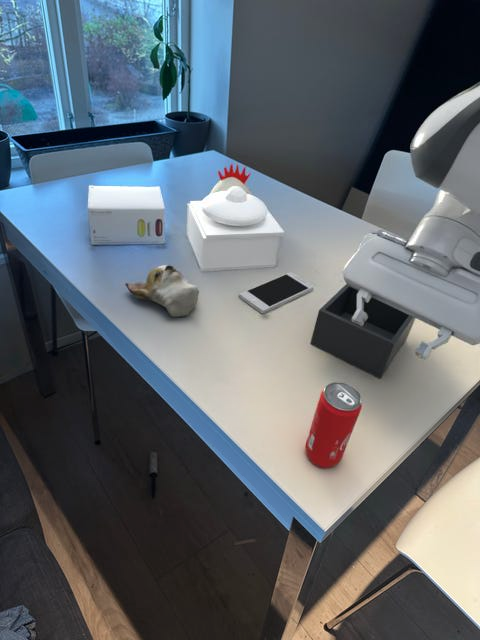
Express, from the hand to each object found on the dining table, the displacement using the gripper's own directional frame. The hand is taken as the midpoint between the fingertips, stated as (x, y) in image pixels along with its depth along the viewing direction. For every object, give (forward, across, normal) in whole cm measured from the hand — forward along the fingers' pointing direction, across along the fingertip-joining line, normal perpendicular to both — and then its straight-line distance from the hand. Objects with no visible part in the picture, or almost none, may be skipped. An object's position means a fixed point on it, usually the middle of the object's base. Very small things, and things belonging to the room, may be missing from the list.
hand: (387, 339), depth 60 cm
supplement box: (+3, -69, +18) cm, 71 cm away
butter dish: (-6, -47, +27) cm, 55 cm away
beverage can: (+18, 0, +3) cm, 18 cm away
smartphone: (-1, -29, +23) cm, 36 cm away
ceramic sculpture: (+12, -41, +9) cm, 44 cm away
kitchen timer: (-14, -58, +36) cm, 70 cm away
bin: (-1, -8, +22) cm, 23 cm away
